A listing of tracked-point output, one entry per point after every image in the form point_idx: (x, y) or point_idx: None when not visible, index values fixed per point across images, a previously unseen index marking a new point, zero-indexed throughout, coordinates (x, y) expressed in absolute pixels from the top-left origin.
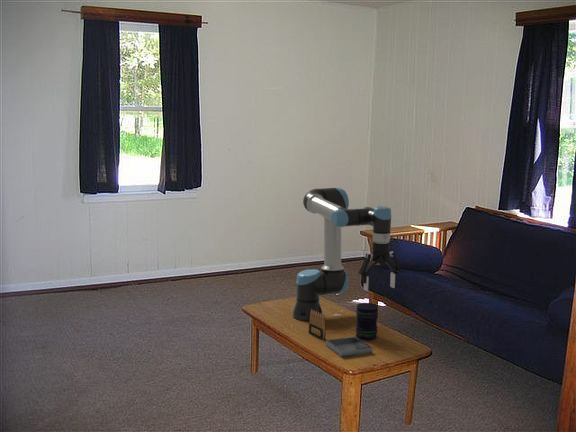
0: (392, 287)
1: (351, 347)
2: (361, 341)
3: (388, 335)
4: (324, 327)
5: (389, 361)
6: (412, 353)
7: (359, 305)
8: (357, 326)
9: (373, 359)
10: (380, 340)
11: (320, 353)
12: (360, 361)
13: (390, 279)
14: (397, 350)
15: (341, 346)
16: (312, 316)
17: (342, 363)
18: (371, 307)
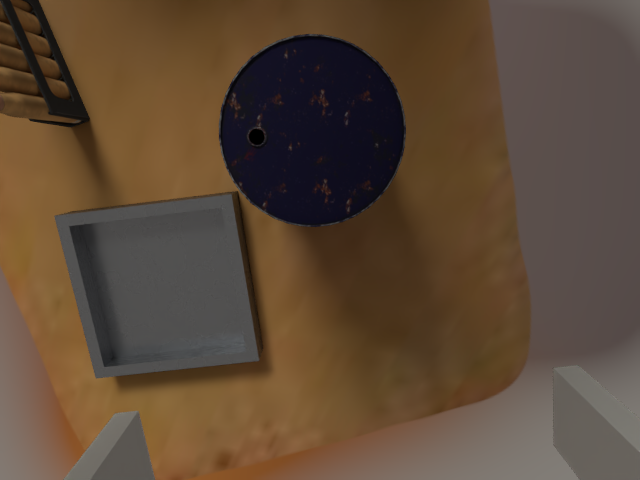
0: (555, 430)
1: (182, 282)
2: (234, 276)
3: (446, 145)
4: (38, 116)
5: (298, 445)
6: (438, 392)
7: (251, 95)
8: (252, 142)
9: (240, 412)
10: (370, 206)
11: (25, 298)
12: (178, 419)
13: (628, 447)
14: (389, 346)
15: (137, 258)
16: None
17: (97, 420)
18: (334, 176)
